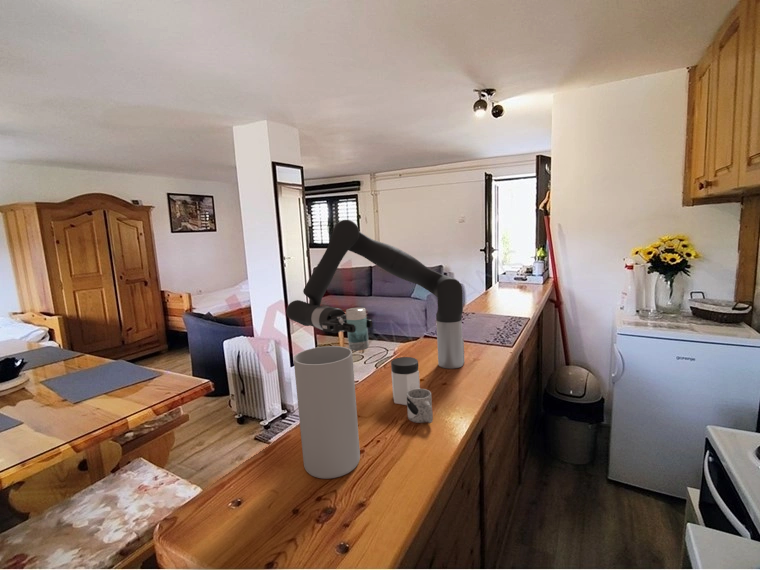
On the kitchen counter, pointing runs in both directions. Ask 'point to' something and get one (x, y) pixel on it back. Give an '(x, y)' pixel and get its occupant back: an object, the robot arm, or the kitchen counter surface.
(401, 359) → the jar
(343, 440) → the cylinder vase
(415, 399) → the mug
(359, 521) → the kitchen counter surface
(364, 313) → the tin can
